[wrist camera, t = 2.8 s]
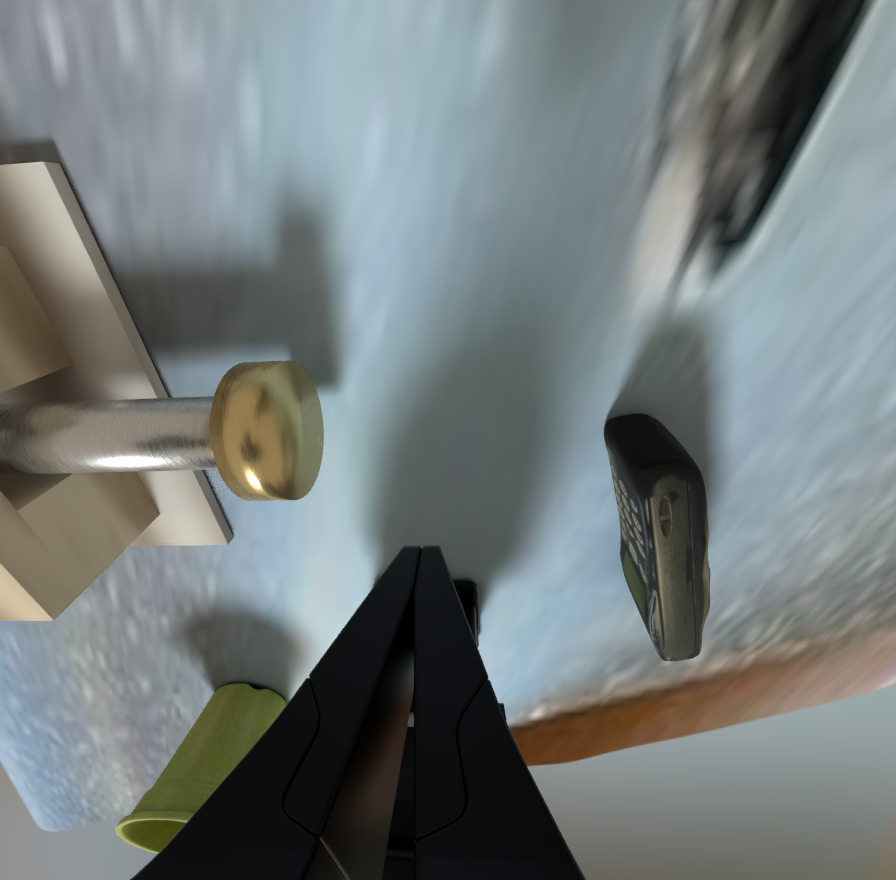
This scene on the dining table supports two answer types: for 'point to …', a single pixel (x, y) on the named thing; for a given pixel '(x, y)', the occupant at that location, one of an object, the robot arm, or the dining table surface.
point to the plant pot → (201, 763)
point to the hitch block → (75, 379)
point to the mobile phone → (661, 532)
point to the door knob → (182, 433)
